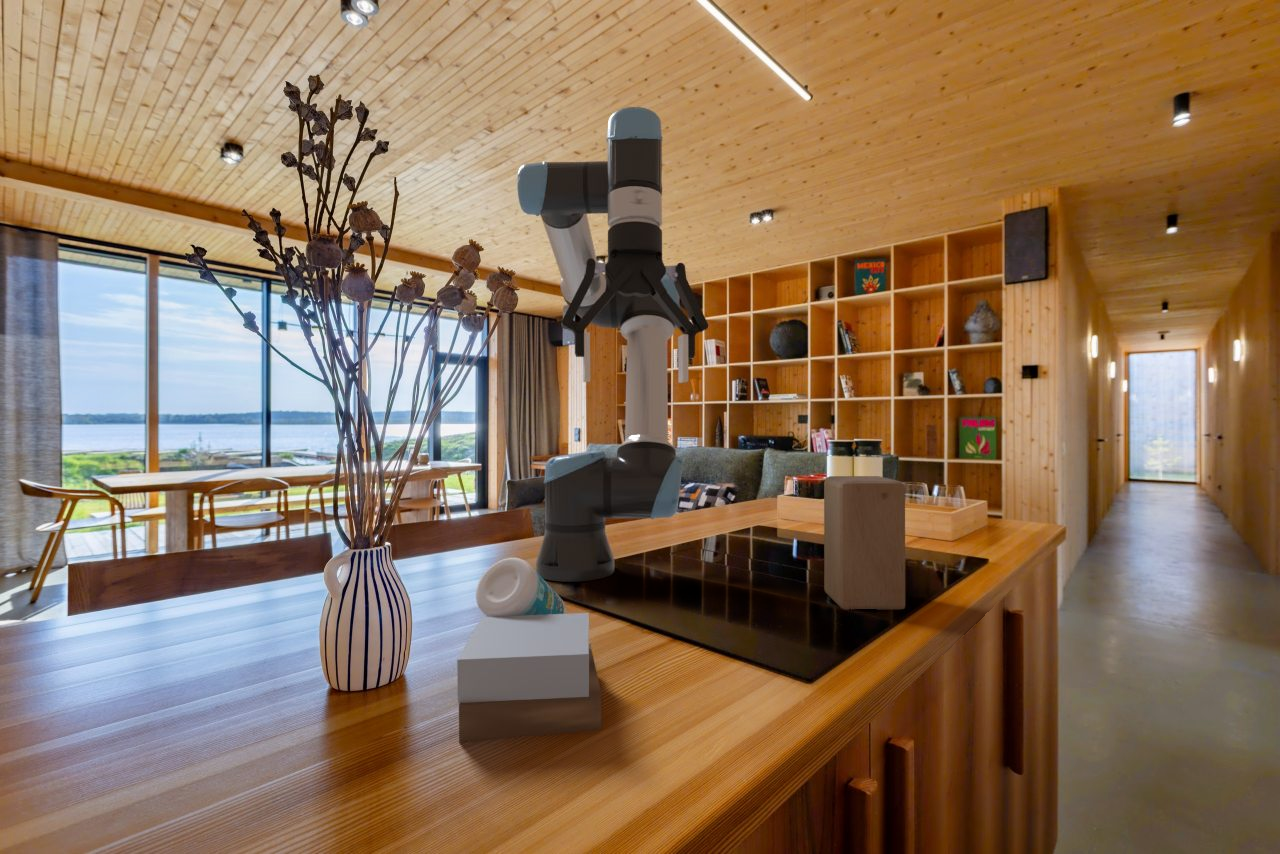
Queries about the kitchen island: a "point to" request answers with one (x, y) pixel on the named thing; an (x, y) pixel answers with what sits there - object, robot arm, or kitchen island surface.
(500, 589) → the pill bottle
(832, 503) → the wooden block
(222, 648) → the kitchen island surface
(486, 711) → the tower base
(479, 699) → the tower top
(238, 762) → the kitchen island surface
